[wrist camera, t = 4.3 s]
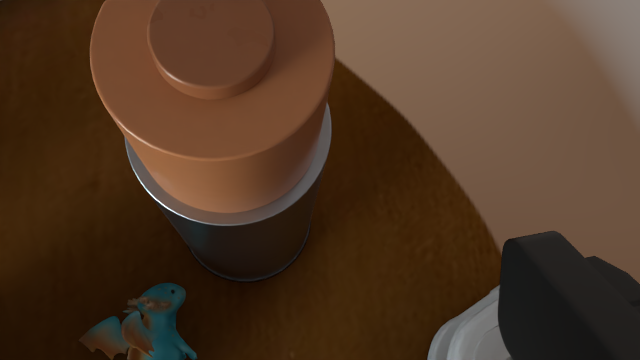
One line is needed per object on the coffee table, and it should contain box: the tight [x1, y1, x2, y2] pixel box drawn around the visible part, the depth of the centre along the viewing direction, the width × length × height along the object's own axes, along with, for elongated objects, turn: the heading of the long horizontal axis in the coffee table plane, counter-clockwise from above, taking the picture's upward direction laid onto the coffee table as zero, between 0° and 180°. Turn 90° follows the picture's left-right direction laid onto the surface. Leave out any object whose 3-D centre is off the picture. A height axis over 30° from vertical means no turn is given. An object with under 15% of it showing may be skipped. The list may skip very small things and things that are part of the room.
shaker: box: [125, 103, 332, 283], centre depth 27 cm, size 7×7×14 cm
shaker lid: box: [90, 0, 335, 213], centre depth 17 cm, size 6×6×6 cm
